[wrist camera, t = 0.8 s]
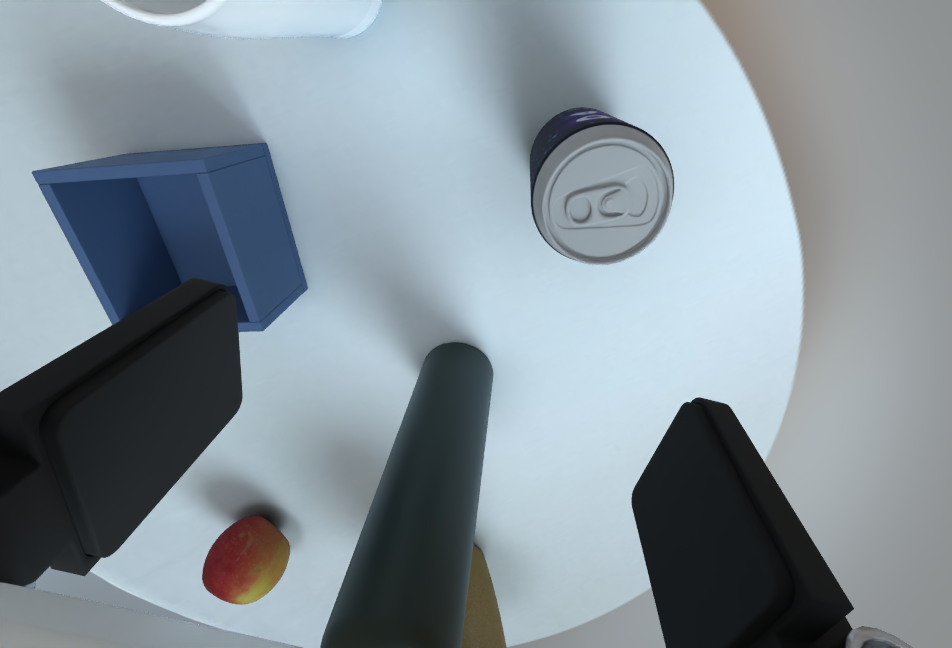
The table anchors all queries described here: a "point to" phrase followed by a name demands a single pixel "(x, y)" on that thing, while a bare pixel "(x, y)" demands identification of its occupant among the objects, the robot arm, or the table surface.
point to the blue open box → (179, 227)
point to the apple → (246, 561)
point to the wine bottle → (421, 516)
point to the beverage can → (598, 186)
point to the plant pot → (481, 608)
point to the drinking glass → (255, 16)
